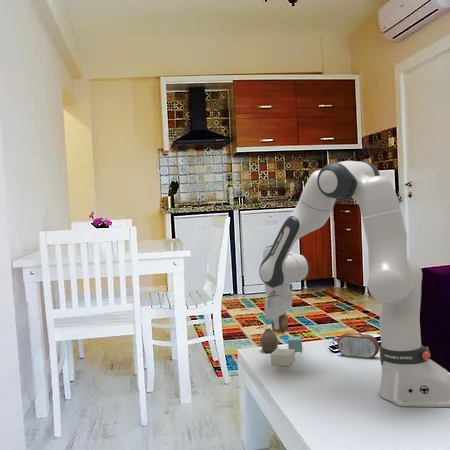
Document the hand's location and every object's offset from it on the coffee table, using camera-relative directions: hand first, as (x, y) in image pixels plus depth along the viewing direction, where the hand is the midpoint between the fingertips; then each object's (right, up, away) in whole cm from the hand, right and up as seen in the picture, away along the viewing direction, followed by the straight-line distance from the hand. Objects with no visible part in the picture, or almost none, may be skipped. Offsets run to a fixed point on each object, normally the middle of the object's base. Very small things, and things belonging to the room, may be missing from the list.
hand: (280, 326), depth 185 cm
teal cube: (+8, -12, +14) cm, 20 cm away
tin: (+29, -11, 0) cm, 31 cm away
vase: (-2, -13, +16) cm, 21 cm away
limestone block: (+1, -13, 0) cm, 13 cm away
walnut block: (0, -2, 0) cm, 2 cm away
